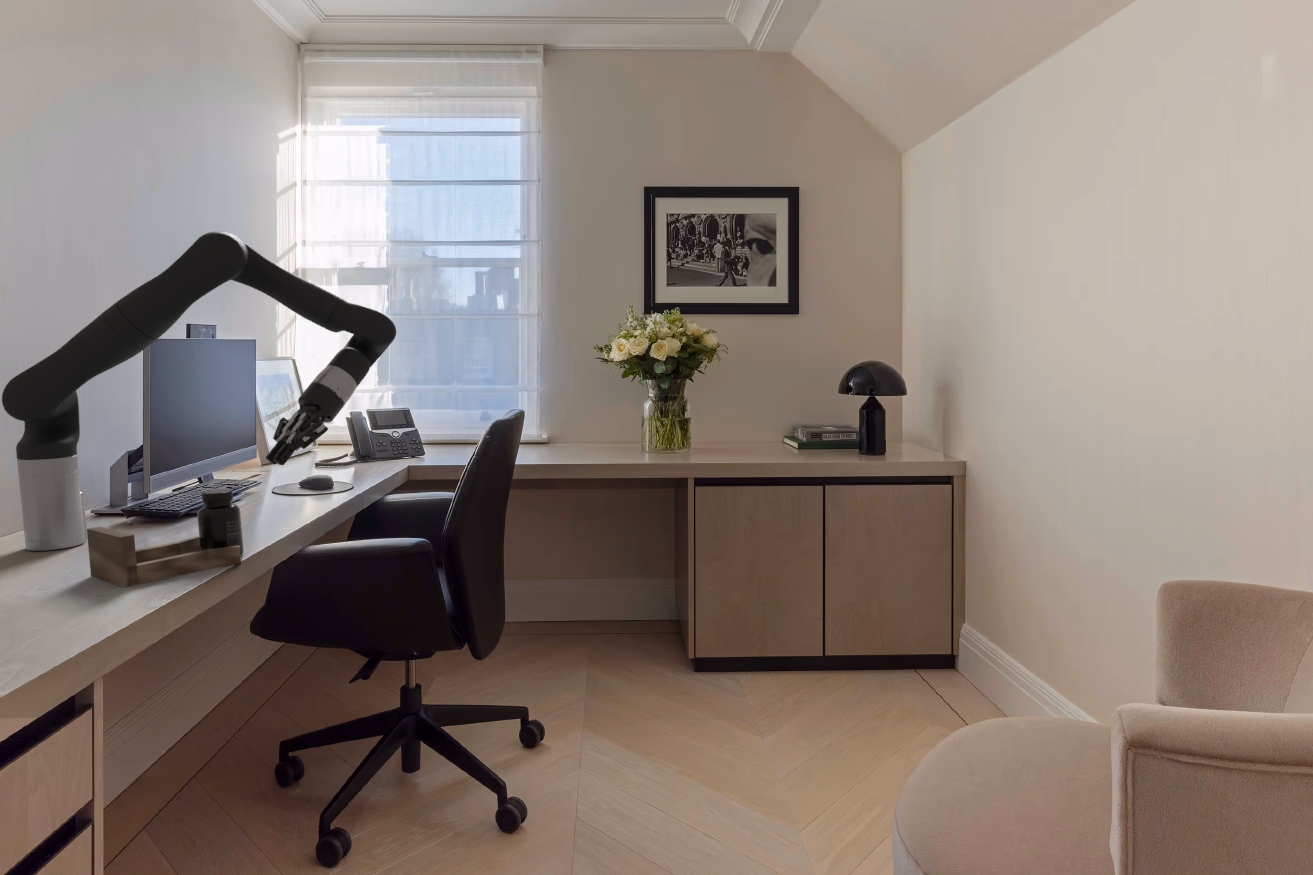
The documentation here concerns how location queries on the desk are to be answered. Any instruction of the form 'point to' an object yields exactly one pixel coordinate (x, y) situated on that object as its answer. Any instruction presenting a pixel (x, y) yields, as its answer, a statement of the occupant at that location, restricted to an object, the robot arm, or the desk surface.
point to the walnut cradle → (150, 558)
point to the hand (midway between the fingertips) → (274, 461)
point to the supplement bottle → (219, 521)
